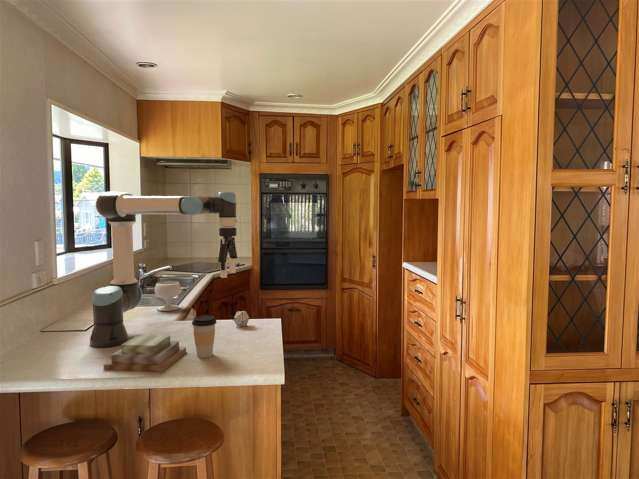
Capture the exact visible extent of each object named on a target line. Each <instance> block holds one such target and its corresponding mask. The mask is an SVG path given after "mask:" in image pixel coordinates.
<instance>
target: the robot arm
mask: <svg viewBox="0 0 639 479" xmlns="http://www.w3.org/2000/svg"><path fill="white" fill-rule="evenodd" d="M236 196H237V195H236V193H235V192H234V191H219V192H218V195H217V196H204V195H203V196H201V195H200V196H199V195H198V196H194V195H188V196H187V195H186V196H185V195H184V196H182V195H181V196H179V195H174V196H173V195H172V196H171V195H168V196H164V195H163V196H162V195H157V196H156V195H151V196H149V195H148V196H147V195H145V196H144V195H141V196H140V195H139V196H137V195H136V196H135V195H134V194H133V193H130V192H127V191H105V192H103V193H101V194H99V196H98V197H97V199H96V201H95V209H96V211H97V213H98V214H99V215H100V216H102V217H103V218H106V219H107V223H108V224H109V225H110V226H111V240H112V241H111V242H112V264H113V268H112V269H113V279H112V280H111V281H110V283H109V285H108V286H105V287H104V286H103V287H99V288H97V289H96V290H94V291H93V292H92V299H91V302H92V313H93V314H92V315H93V316H92V317H93V327H92V331H91V335H90V337H89V345H90V346H91V347H93V348H111V347H116V346H120V345H122V344H123V343H125V342H127V341H128V340H129V334H128V331H127V328H126V326H125V323H124V313H125V312H128V311H130V310H134V309H135V308H136V307H138V306H139V305H140V303H141V302H142V300H143V290H142V287H140V285H139V281H138V279H137V278H135V265H134V263H135V262H134V261H135V260H134V238H133V237H134V234H133V226H134V224H135V223H136V222H137V219H136V218H137V217H136V216H137V215H189V216H195V215H202V214H203V215H204V214H205V215H206V214H207V215H208V214H215V215H217V214H218V227H219V229H218V235H219V237H222V238H220V245H219V253H218V260H217V263H219V268H220V269H219V276H220V278H221V279H226V278H228V267H229V274H236V272H237V269H236V268H237V266H236V259H238V253H237V248H236V241H235V240H236V237H237V228H236V227H237V222H238V219H237V197H236ZM228 255H229V259H228ZM227 259H228V260H229V262H227ZM228 263H229V266H228Z"/></svg>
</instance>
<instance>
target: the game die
mask: <svg viewBox="0 0 639 479" xmlns="http://www.w3.org/2000/svg"><path fill="white" fill-rule="evenodd" d="M251 318H252V316H249V314H248V313H247V309H245V310H241V311H240V310H239V311H237V310H235V314H234V316H233V319H232V321H234V324H235V325H236V328H238V327H243V326H244V327H247V328H248V327H249V326H248V322H249V320H250V319H251Z"/></svg>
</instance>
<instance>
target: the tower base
mask: <svg viewBox="0 0 639 479" xmlns="http://www.w3.org/2000/svg"><path fill="white" fill-rule="evenodd" d="M186 353H187V347H186V346H180V341H179V340H178V341H177V340H171V335H169V334H168V335H166V334H164V335H163V334H137V335H136V336H134V337H132V338H130V339H128V341H127V342H125V343H123V344H121V346H120V349H118V350H116V351H115V352H114V353H112V354H111V359H110V360H107V362H105V363H104V364H103V370H104V369H105V370H104V371H122V370H123V371H126V372H149V373H154V372H155V373H163V372H164V371H165V370H166V369H167V368H169V367H170V366H172V364H174V363H175V362H176V361H177V360H178V359H179V358H181V357H182V356H184V355H185V354H186Z"/></svg>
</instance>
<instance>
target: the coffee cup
mask: <svg viewBox="0 0 639 479" xmlns="http://www.w3.org/2000/svg"><path fill="white" fill-rule="evenodd" d="M216 324H217V319H216V318H215V316H214V315H198V316H195V317H193V320H192V322H191V325H192V327H193V338H194V344H195V349H196V356H197V357H198V358H201V359H202V358H203V359H204V358H210V357H212V356H213V352H214V343H215V334H216V328H215V327H216Z"/></svg>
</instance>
